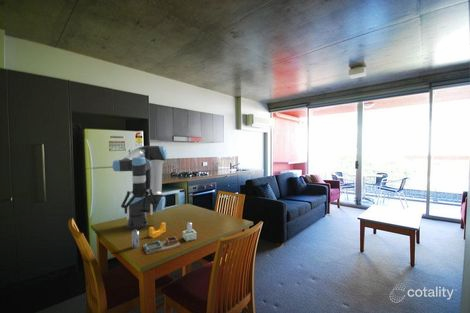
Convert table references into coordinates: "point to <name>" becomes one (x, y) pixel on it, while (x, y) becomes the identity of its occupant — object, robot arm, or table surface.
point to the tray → (189, 235)
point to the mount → (161, 245)
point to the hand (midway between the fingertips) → (140, 216)
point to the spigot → (135, 239)
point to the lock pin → (189, 227)
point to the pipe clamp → (155, 233)
